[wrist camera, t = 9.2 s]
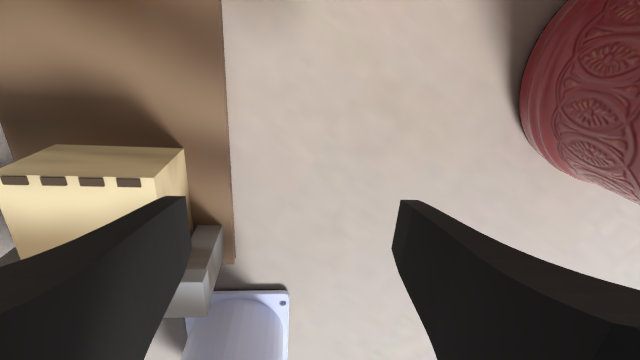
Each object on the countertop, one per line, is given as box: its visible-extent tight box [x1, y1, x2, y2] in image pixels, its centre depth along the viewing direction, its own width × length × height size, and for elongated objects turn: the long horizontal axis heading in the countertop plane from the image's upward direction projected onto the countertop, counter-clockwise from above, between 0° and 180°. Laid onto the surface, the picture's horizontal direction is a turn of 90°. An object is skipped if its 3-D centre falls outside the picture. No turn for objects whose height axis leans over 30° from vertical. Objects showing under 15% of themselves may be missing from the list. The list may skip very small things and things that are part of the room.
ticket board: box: [0, 0, 236, 318], centre depth 16 cm, size 18×12×6 cm, turn 176°
